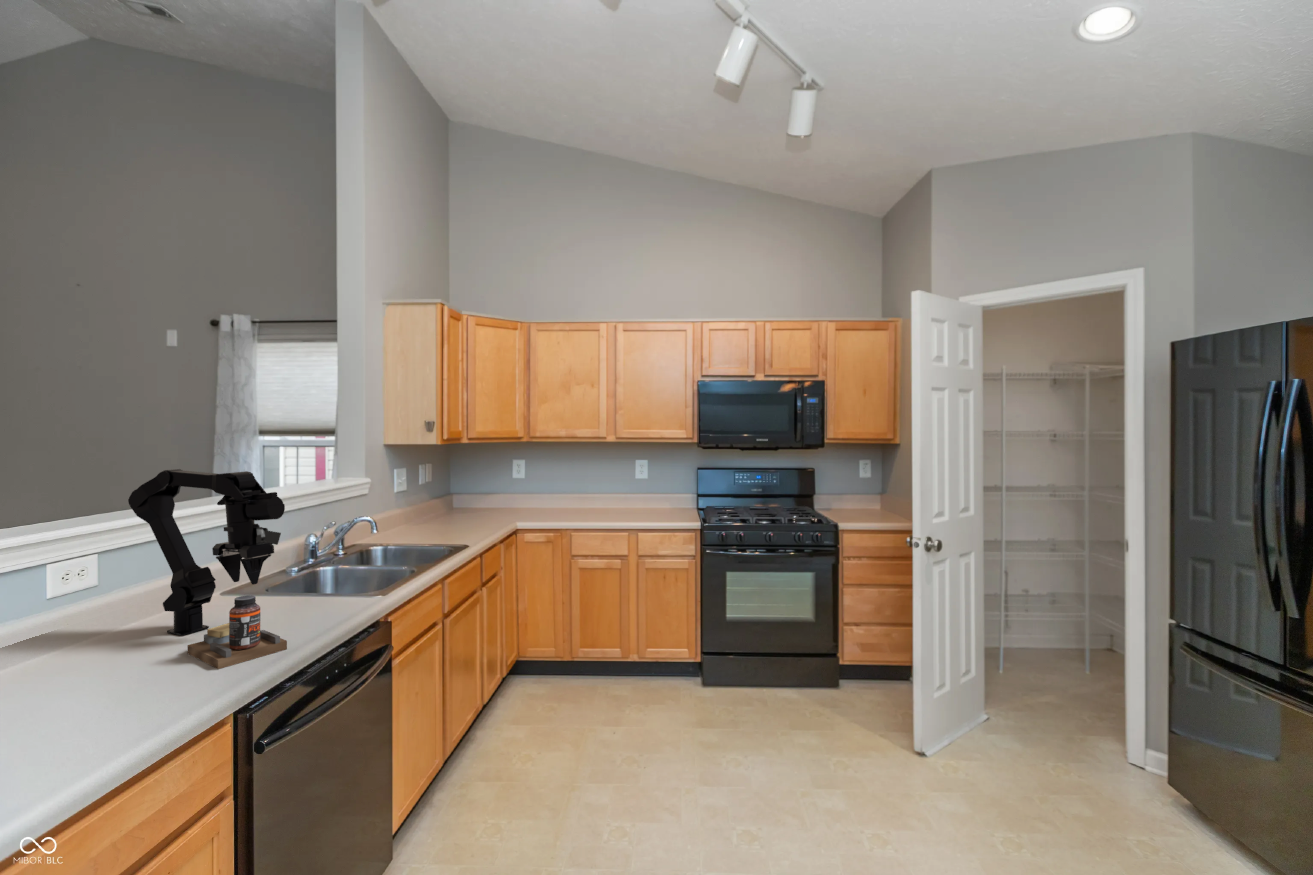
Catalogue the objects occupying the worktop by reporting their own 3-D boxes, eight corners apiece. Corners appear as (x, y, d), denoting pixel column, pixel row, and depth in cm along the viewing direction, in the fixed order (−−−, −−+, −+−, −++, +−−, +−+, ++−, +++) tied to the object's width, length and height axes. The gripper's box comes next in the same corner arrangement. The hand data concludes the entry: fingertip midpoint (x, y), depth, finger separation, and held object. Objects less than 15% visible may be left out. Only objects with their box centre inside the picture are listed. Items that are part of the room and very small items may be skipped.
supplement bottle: (253, 650, 134) (252, 600, 134) (223, 651, 133) (223, 601, 133) (265, 640, 140) (265, 593, 140) (237, 642, 139) (236, 594, 139)
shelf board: (187, 653, 137) (187, 632, 137) (254, 635, 149) (254, 616, 149) (218, 669, 128) (218, 646, 128) (286, 649, 140) (286, 628, 140)
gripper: (293, 516, 152) (298, 577, 152) (256, 516, 162) (261, 573, 162) (245, 524, 143) (250, 588, 143) (209, 523, 152) (214, 583, 152)
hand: (245, 582), depth 150 cm, fingers open, 9 cm apart
